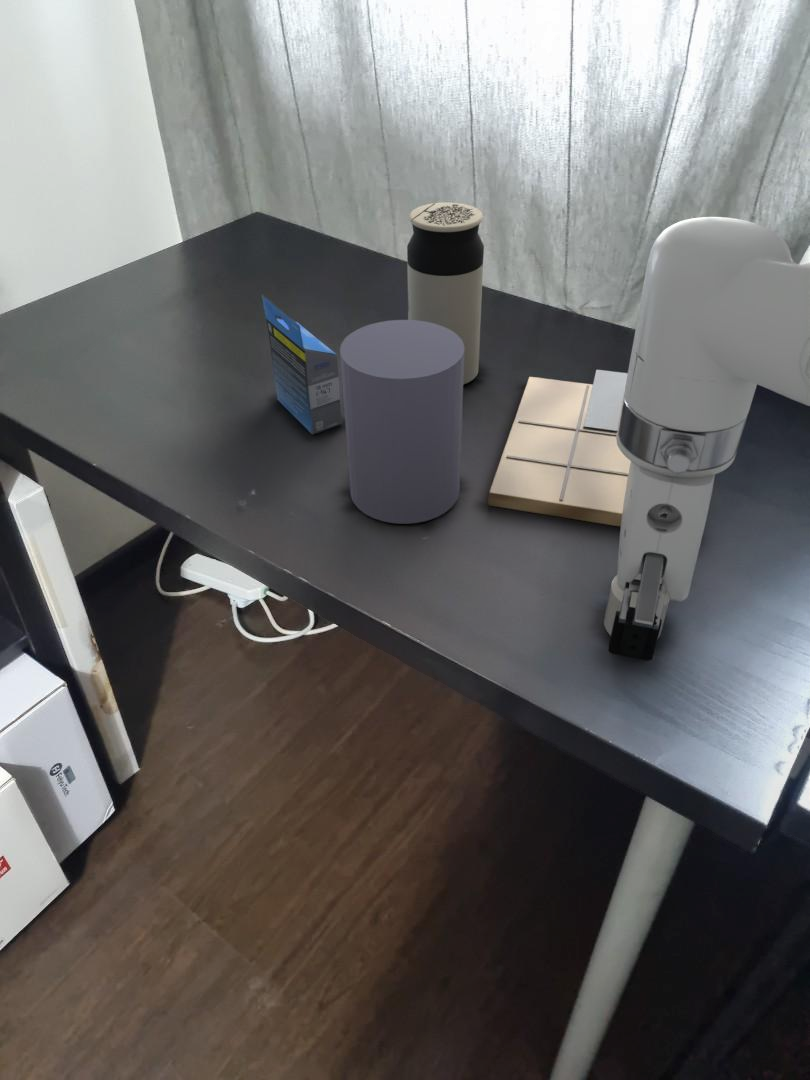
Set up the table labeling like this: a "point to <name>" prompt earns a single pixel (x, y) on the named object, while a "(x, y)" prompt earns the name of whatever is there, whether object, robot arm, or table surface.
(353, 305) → the table surface
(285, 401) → the blue product box
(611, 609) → the white squat cylinder
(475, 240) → the travel mug
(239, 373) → the table surface
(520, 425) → the board
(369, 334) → the container
